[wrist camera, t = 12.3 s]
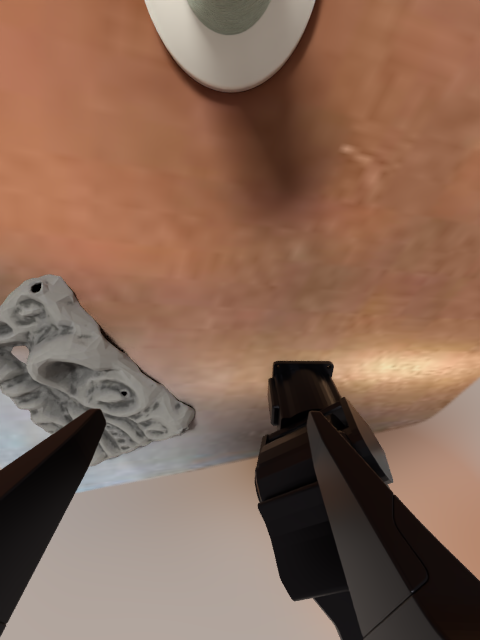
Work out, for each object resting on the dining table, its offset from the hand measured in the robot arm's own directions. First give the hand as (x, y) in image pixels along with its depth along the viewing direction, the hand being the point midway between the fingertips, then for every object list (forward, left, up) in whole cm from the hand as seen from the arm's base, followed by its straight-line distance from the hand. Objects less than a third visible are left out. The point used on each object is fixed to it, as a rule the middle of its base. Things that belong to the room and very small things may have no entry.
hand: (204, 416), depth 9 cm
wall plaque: (+18, +10, -14) cm, 25 cm away
